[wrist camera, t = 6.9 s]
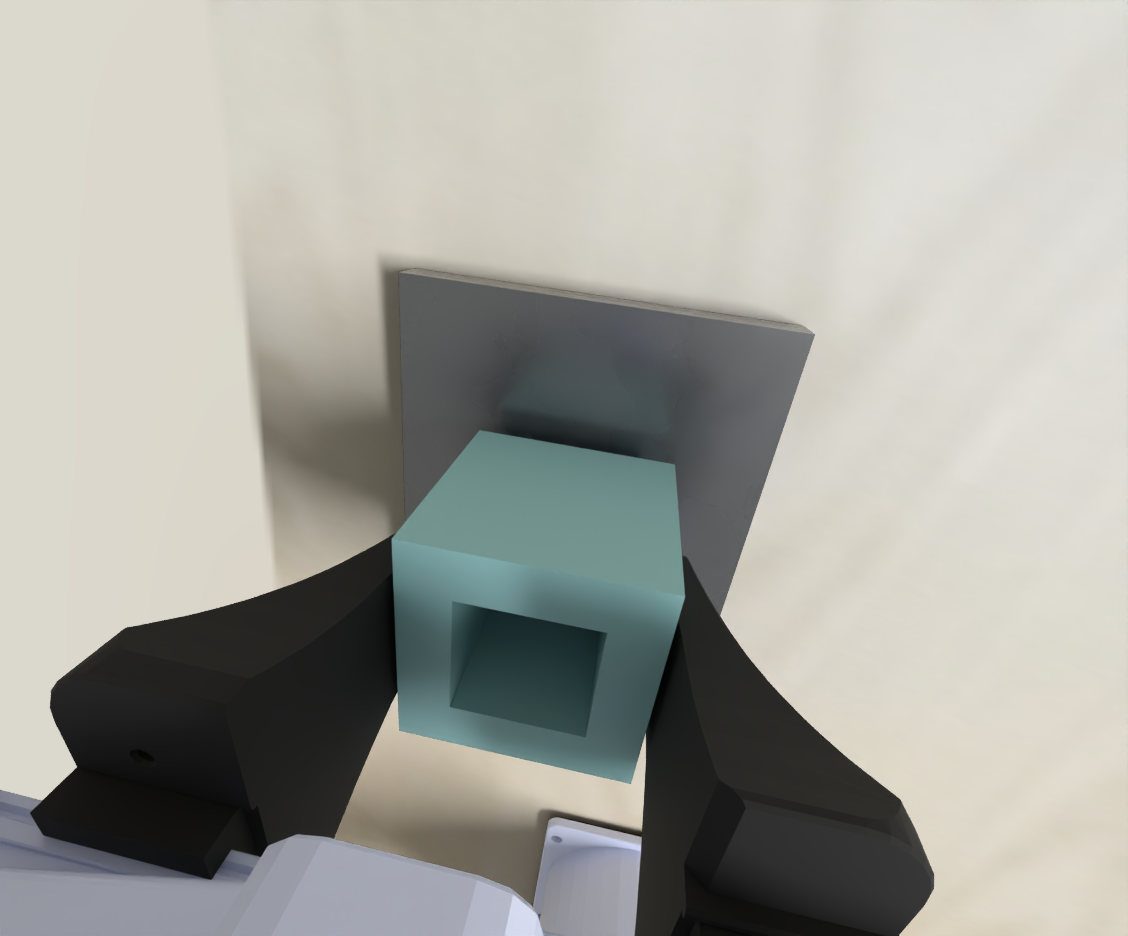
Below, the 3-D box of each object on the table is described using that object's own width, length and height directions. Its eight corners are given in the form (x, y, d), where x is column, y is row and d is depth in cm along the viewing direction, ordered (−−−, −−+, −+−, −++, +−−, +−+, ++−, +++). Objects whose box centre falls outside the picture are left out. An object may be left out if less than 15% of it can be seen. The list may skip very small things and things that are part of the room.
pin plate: (691, 670, 18) (700, 780, 15) (419, 613, 19) (365, 704, 16) (803, 326, 13) (861, 369, 9) (415, 268, 14) (330, 287, 10)
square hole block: (637, 616, 15) (631, 783, 11) (472, 583, 16) (399, 730, 11) (675, 464, 13) (684, 596, 8) (479, 430, 13) (391, 538, 9)
